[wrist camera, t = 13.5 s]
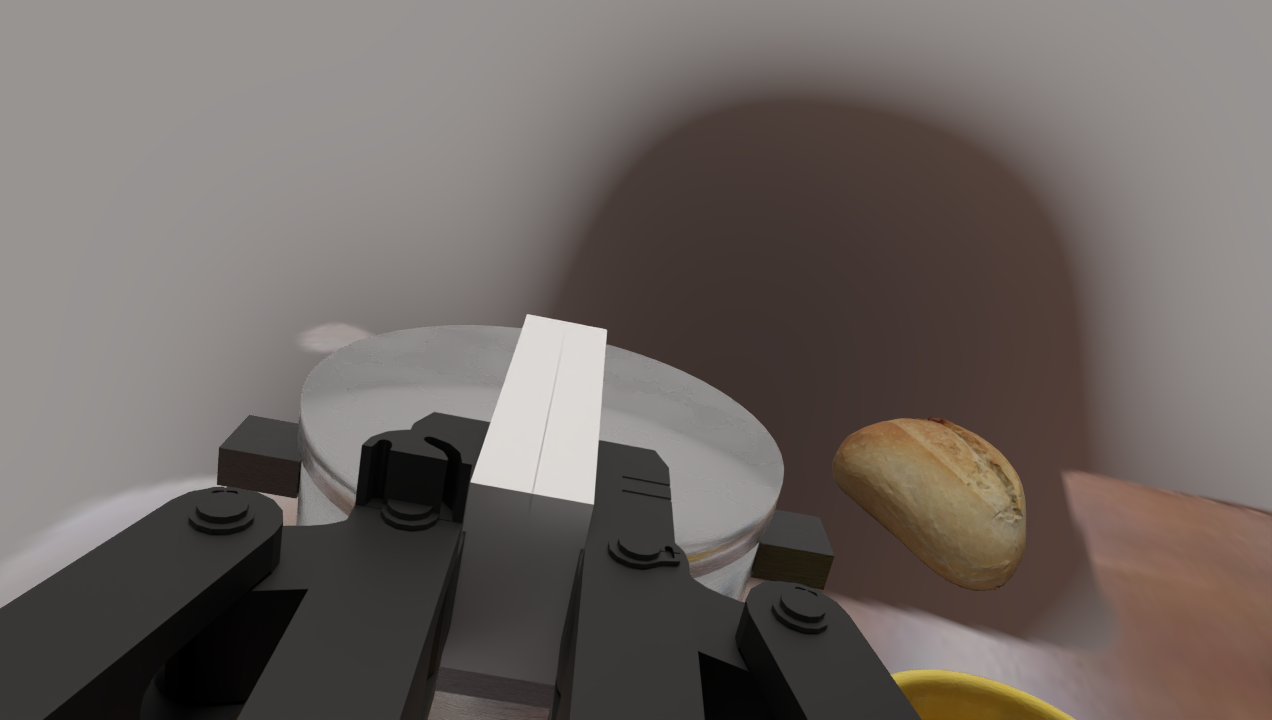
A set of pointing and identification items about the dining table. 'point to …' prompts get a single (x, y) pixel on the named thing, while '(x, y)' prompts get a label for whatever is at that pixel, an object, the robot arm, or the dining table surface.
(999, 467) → the bread roll
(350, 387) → the cooker lid
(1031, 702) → the plant pot
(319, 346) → the dining table surface
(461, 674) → the pressure cooker
